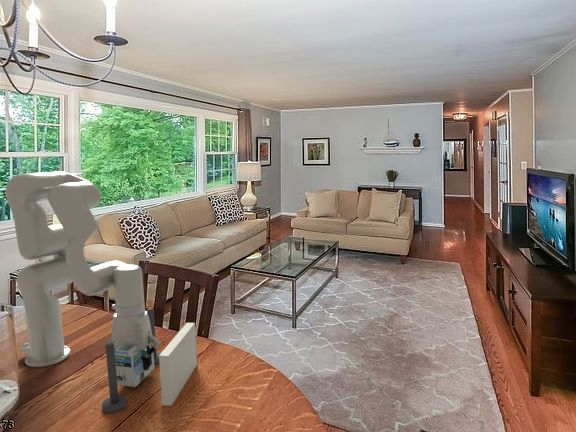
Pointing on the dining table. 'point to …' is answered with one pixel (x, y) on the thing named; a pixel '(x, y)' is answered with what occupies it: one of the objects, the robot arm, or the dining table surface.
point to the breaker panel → (177, 363)
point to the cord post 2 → (153, 332)
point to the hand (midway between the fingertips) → (134, 366)
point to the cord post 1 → (113, 384)
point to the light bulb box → (131, 365)
